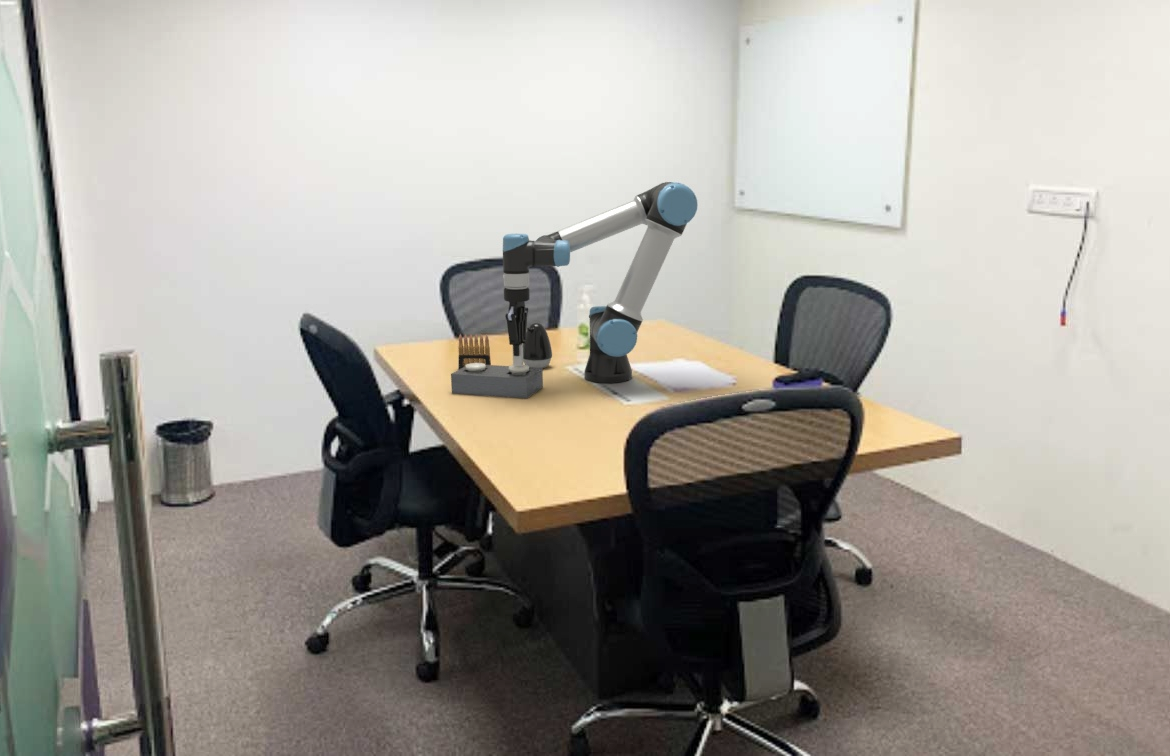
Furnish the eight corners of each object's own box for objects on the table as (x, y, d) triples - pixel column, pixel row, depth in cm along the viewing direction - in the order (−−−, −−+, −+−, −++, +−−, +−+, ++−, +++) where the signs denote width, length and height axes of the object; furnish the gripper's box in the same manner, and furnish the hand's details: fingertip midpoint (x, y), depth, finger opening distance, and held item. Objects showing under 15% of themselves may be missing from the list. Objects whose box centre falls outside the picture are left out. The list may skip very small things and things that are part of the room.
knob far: (489, 385, 288) (488, 363, 286) (481, 390, 282) (480, 367, 280) (471, 384, 289) (470, 362, 288) (463, 389, 284) (462, 366, 282)
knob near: (532, 387, 284) (531, 365, 282) (525, 392, 278) (524, 369, 276) (513, 386, 285) (513, 363, 284) (506, 391, 280) (505, 368, 278)
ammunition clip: (458, 370, 311) (456, 334, 308) (459, 368, 313) (458, 333, 310) (490, 370, 310) (489, 334, 307) (491, 369, 312) (490, 333, 309)
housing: (542, 387, 287) (542, 368, 285) (526, 398, 274) (526, 378, 272) (470, 382, 294) (469, 363, 292) (451, 393, 281) (450, 373, 279)
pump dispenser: (515, 369, 311) (514, 324, 307) (531, 362, 320) (530, 319, 316) (542, 372, 306) (541, 326, 303) (557, 365, 315) (557, 321, 312)
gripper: (512, 283, 281) (514, 360, 287) (496, 289, 269) (498, 369, 275) (536, 284, 279) (537, 361, 285) (520, 290, 267) (522, 371, 273)
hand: (518, 365), depth 280 cm, fingers closed
